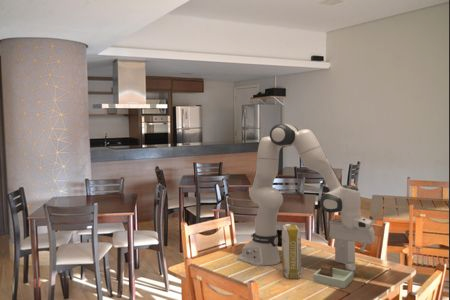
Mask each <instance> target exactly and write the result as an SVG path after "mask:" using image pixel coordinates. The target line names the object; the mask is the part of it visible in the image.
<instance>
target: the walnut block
mask: <svg viewBox="0 0 450 300" xmlns="http://www.w3.org/2000/svg"><path fill="white" fill-rule="evenodd" d="M320 268H321V275H324V276H328V277H333V268H334V267H333V265H330V264H326V263H324V264H322V265H321V266H320Z"/></svg>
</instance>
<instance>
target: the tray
mask: <svg viewBox="0 0 450 300" xmlns="http://www.w3.org/2000/svg"><path fill="white" fill-rule="evenodd" d="M354 277H355V276H354V272H351V271H346V269H341V268H335V267H333V277H328V276H324V275H321V267H320V268H319V269H318V270H316V271H315V272H314V273H313V274H312V281H313V283H318V284H323V285H328V286H332V287H336V288H340V289H345V288H346V287H347V286H348V285H349V284H351V282H353V280H354Z"/></svg>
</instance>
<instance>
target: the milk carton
mask: <svg viewBox="0 0 450 300" xmlns="http://www.w3.org/2000/svg"><path fill="white" fill-rule="evenodd" d="M341 243H342V245H344V249H340V245H339V244H338V242H337V239H334V246H335V247H334V257H335V259H334V260H335V261H334V262H336V263H339V264H344V265H346V263H347V262H353V263H355V261H356V242H353V241H345V240H342V241H341Z"/></svg>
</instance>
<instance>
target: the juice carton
mask: <svg viewBox="0 0 450 300" xmlns="http://www.w3.org/2000/svg"><path fill="white" fill-rule="evenodd" d="M282 226H283V229H282V247H281V257H282V258H281V263H282V272H283V273H284V276H285V278H286V279H300V278H301V274H302V238H301V237H302V236H301V235H302V234H301V231H300V228H299V227H298V225H296V224H290V223H286V224H283V225H282Z"/></svg>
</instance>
